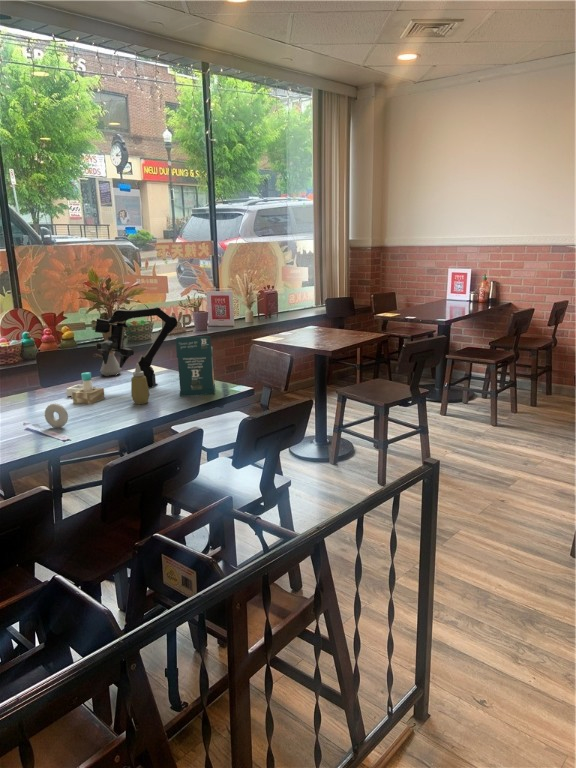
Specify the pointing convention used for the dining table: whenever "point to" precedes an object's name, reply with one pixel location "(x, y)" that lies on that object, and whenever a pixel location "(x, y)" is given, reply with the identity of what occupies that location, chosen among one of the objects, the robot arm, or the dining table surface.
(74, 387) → the holster
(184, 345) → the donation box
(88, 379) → the plug
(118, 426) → the dining table surface
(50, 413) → the donut
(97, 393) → the socket block
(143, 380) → the squeeze bottle
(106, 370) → the coffee pot
